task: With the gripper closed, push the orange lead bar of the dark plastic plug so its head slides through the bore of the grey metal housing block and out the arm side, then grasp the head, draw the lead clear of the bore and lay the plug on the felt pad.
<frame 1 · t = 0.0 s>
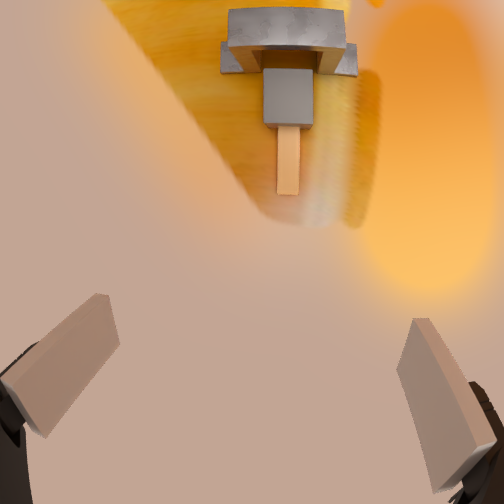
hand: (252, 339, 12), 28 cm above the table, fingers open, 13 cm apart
housing: (289, 56, 31), on the table
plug: (289, 105, 33), on the table
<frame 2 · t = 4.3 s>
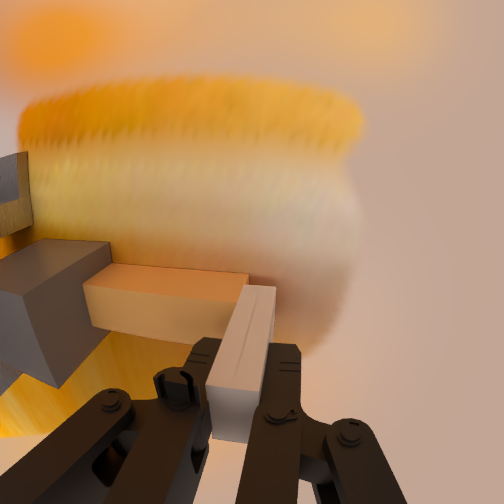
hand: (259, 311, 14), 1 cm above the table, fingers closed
housing: (25, 269, 18), on the table
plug: (79, 277, 17), on the table, touching gripper
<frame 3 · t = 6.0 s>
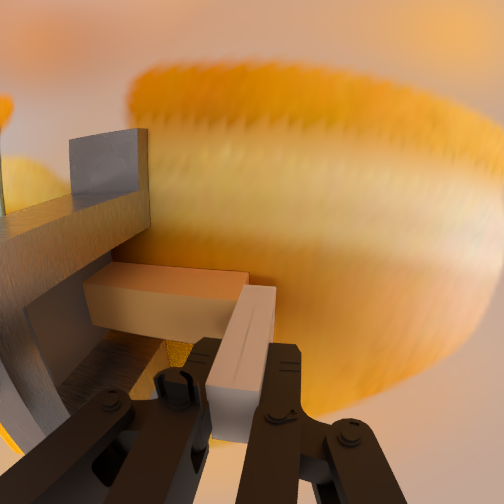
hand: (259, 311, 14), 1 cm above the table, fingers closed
housing: (123, 283, 16), on the table
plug: (79, 276, 17), on the table, touching gripper
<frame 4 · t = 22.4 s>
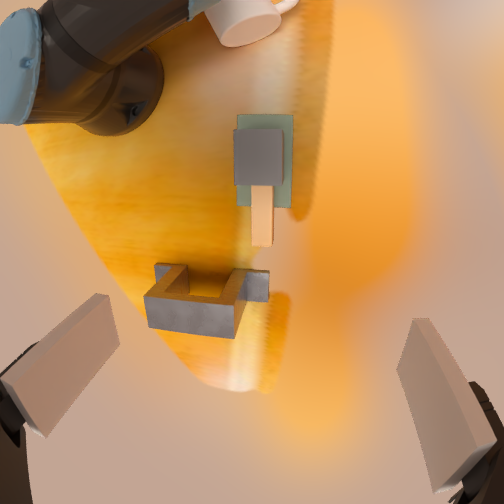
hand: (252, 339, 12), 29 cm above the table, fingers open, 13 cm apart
pad: (264, 160, 37), on the table
housing: (210, 281, 44), on the table
mug: (254, 11, 30), on the table
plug: (264, 156, 36), on the table, touching pad
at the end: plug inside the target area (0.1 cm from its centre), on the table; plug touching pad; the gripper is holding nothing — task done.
